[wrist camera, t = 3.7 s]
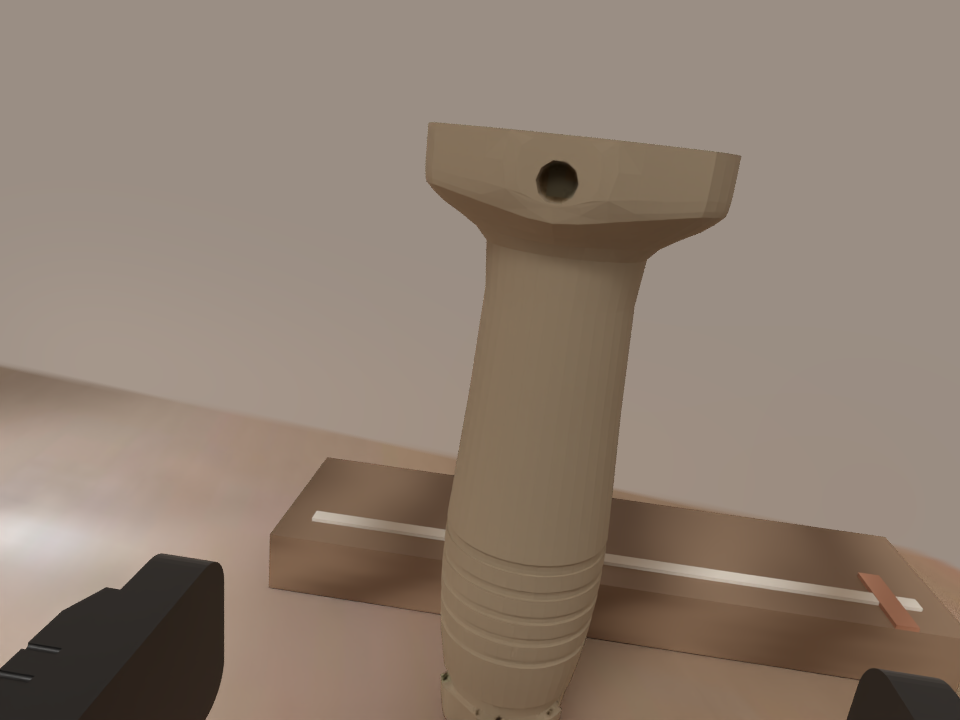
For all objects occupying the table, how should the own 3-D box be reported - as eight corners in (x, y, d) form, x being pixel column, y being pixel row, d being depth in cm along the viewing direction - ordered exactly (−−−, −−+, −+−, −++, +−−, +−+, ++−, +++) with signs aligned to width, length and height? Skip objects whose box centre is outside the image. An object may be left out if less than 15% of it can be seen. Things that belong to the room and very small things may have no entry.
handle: (419, 629, 22) (467, 130, 18) (625, 686, 20) (732, 158, 16) (352, 747, 17) (394, 116, 13) (609, 831, 16) (752, 154, 12)
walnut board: (269, 587, 23) (270, 530, 23) (325, 501, 29) (327, 454, 28) (955, 694, 22) (976, 636, 21) (871, 581, 27) (886, 533, 27)
